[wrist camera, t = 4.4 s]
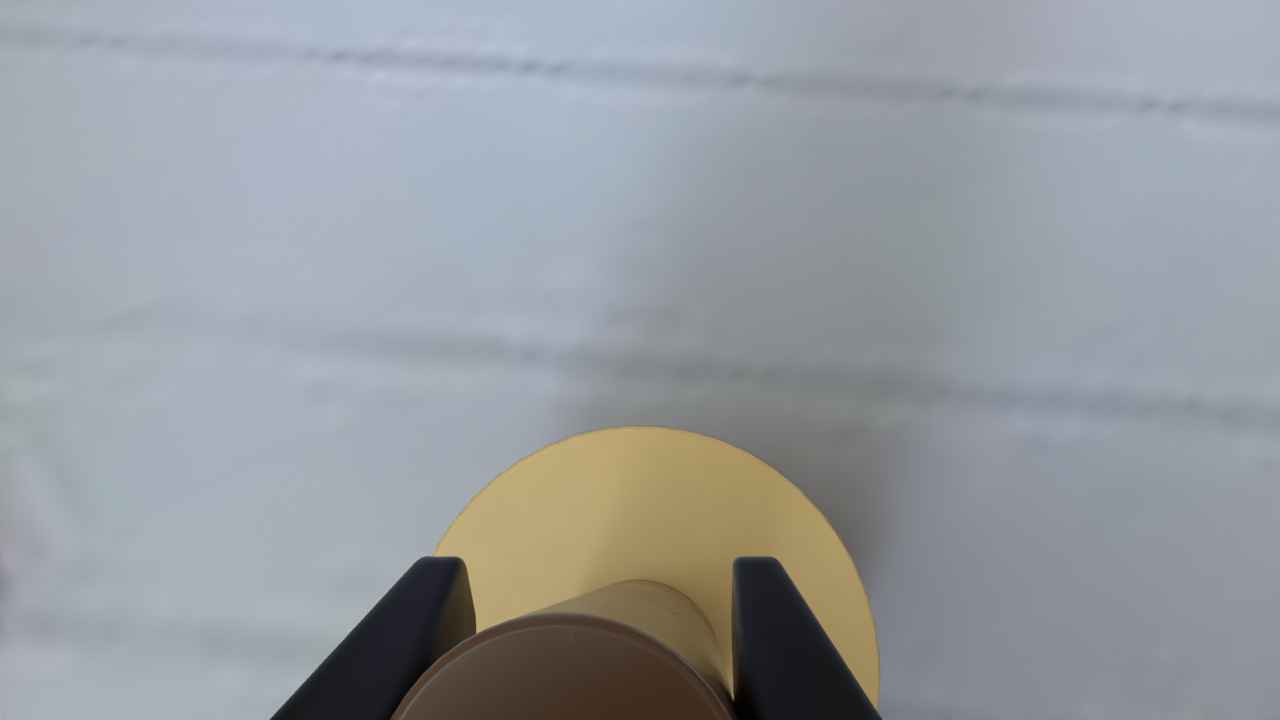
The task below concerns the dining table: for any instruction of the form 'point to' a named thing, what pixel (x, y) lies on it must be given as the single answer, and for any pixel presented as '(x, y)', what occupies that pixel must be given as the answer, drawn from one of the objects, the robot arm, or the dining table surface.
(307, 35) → the dining table surface
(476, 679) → the peg on round base
